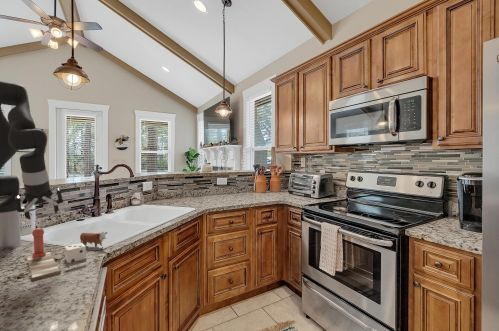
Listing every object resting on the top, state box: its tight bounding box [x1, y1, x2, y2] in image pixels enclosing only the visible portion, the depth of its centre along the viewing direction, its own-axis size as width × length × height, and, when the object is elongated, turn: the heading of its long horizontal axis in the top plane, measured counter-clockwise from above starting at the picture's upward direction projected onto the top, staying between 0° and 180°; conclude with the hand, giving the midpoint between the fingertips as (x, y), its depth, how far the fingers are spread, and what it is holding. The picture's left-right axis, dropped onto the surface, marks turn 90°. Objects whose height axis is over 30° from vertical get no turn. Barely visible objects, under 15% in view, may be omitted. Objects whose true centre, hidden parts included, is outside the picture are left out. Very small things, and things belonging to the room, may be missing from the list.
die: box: [64, 242, 87, 264], centre depth 101 cm, size 6×6×6 cm
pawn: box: [31, 227, 47, 258], centre depth 104 cm, size 4×4×12 cm
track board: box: [26, 251, 62, 282], centre depth 97 cm, size 25×8×1 cm, turn 45°
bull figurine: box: [79, 231, 108, 248], centre depth 114 cm, size 4×13×8 cm, turn 79°
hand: (42, 215), depth 103 cm, fingers open, 8 cm apart
